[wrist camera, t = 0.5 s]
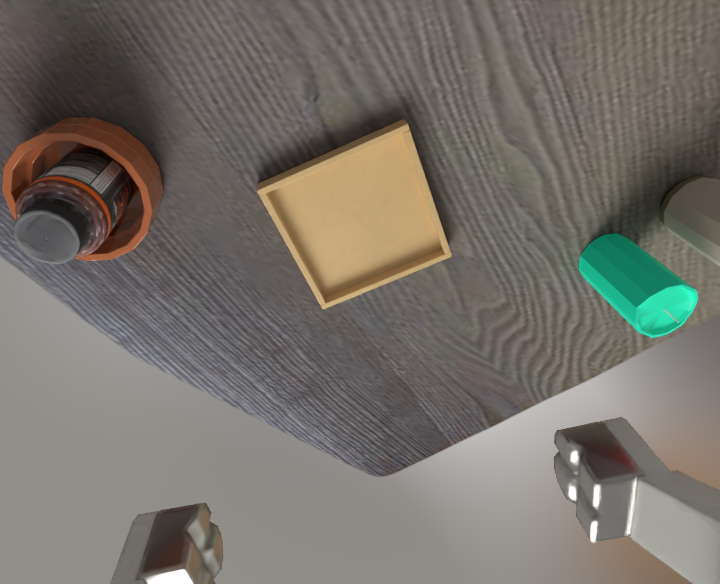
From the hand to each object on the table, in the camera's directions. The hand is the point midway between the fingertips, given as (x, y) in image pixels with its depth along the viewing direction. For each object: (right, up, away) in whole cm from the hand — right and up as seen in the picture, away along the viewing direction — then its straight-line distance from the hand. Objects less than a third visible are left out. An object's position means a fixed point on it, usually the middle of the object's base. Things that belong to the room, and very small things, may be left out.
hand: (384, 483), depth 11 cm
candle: (+26, +8, +43) cm, 51 cm away
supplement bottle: (-23, +14, +31) cm, 41 cm away
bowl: (-23, +14, +31) cm, 41 cm away
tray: (-1, +11, +36) cm, 38 cm away
